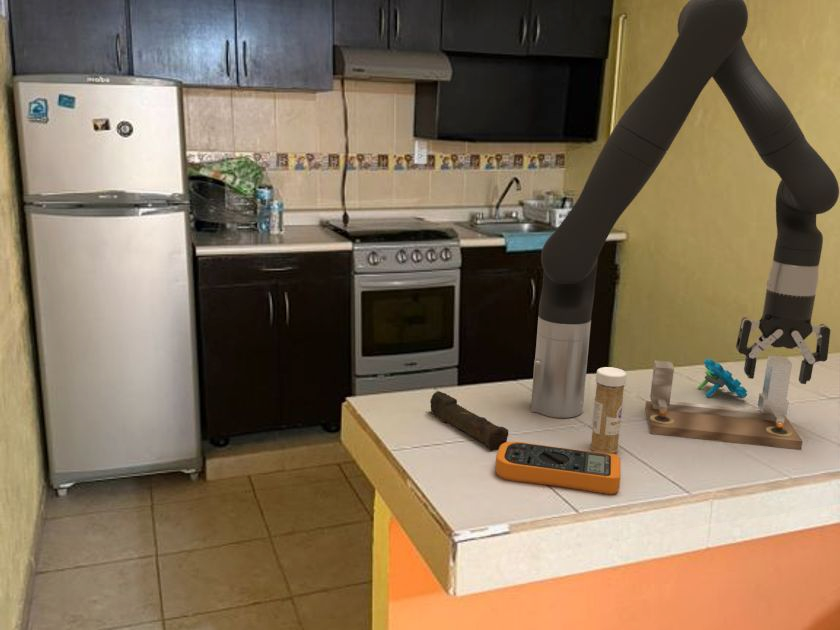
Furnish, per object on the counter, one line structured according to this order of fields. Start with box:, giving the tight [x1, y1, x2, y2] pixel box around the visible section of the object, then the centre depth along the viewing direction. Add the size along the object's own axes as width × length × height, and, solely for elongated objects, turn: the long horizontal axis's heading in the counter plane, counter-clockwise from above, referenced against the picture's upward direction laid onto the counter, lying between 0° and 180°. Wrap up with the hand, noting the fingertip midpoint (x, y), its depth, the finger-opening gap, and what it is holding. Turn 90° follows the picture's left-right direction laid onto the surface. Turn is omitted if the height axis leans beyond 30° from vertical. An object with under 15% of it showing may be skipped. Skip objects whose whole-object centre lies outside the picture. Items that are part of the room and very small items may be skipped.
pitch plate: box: [644, 360, 803, 451], centre depth 135 cm, size 24×12×10 cm, turn 79°
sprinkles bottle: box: [589, 366, 627, 454], centre depth 124 cm, size 5×5×14 cm
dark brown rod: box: [429, 390, 509, 452], centre depth 131 cm, size 19×4×5 cm, turn 32°
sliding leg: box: [757, 354, 793, 430], centre depth 133 cm, size 4×8×10 cm, turn 169°
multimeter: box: [495, 440, 622, 495], centre depth 116 cm, size 9×18×3 cm, turn 76°
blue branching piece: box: [697, 358, 748, 399], centre depth 152 cm, size 11×6×10 cm
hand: (776, 380), depth 135 cm, fingers open, 8 cm apart
